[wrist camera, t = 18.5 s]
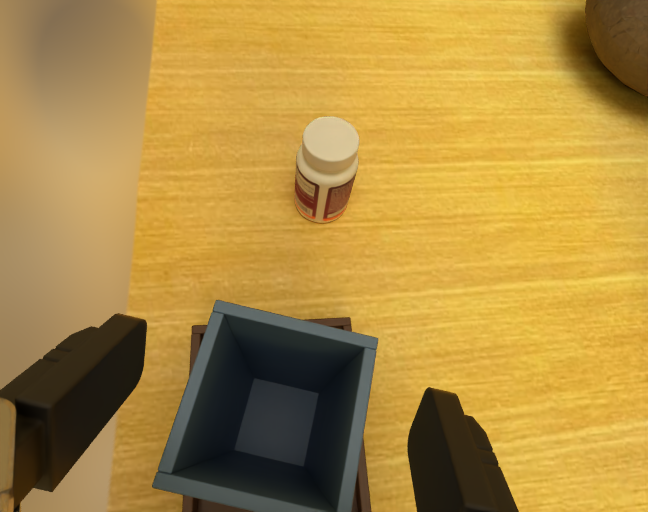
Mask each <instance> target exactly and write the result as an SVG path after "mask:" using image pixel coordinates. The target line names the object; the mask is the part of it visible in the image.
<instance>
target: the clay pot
mask: <svg viewBox="0 0 648 512" xmlns="http://www.w3.org/2000/svg"><path fill="white" fill-rule="evenodd" d="M585 13H586V23H587V29H588V33H589V37H590V40H591V42H592V45H593V48H594V50H595V52H596V54H597V56H598V58H599V59H600V61H601V62H602V63H603V65H604V66H605V67H606V68H607V69H608V70H609V71H610V72H611V73H613V74H614V75H615V76H616V77H617V78H618V79H619V80H620V81H621V82H622V83H623V84H625V85H627V86H628V87H630V88H632V89H634V90H635V91H637V92H639V93H640V94H642V95H644V96H647V97H648V0H586V7H585Z"/></svg>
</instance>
